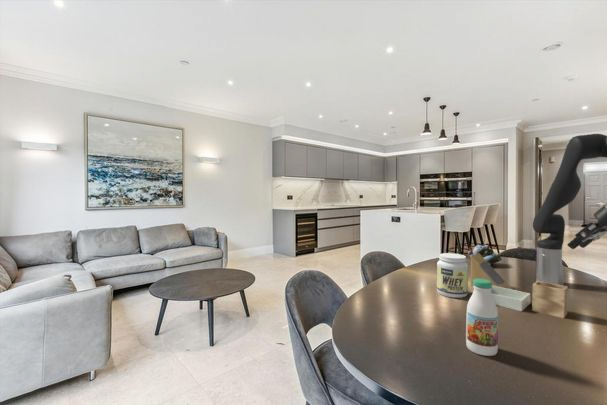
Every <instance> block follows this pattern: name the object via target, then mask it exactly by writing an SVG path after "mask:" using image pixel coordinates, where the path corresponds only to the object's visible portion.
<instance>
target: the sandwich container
mask: <svg viewBox="0 0 607 405" xmlns="http://www.w3.org/2000/svg"><path fill="white" fill-rule="evenodd" d="M474 279H486V280H489V281H491V282H492V285H493V286H497V287H502V288H507V289H512V290H514V289H513V288H512V287H511V286H510V285H509V284H508V283H507V281H505V280H504V279H503V277H502V276H501V275H500V274H499V273H498V272H497V271H496V270H495V269H494V267H492V266H491V265H489V263H488V262H487V261H486V260H485V259H484V258H483V257H482V256H481V255H480V253H478V254H474V255H471V257H470V287H472V288H474V287H473V280H474Z"/></svg>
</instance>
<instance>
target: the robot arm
mask: <svg viewBox="0 0 607 405" xmlns="http://www.w3.org/2000/svg"><path fill="white" fill-rule="evenodd" d="M596 158H607V135H605V134H601V133H591V134H589V133H588V134H581V135H575V136H573V137H571V138H570V140H569V141H568V143H567V144H566V147H565V150H564V153H563V156H562V160H561V162H560V164H559V168H558V170H557V173H556V175H555V177H554V179H553V182H552V184H551V186H550V188H549V190H548V192H547V195H546V196H545V198H544V201H543V203H542V205H541V206H540V207H539V209H538V211H537V213H536V214H535V216H534V218H533V219H532V220H533V221H532V228H533V231H535V233H538V234H549V236H548V237H545V238H543V239H539V240H538V241H537V243H536V271H535V272H536V280H535V282H536V281H540V282H546V283H551V284H556V285H562V286H565V284H564V281H565V278H564V276H565V274H564V273H565V265H564V264H563V245H564V239H565V228H566V223H565V219H564V217H563V215H561V214H558V213H557V214H556V212H558V211H559V210H561V209H563V208H564V207H566V206H567V205H569V204H570V203H572V202H573V201H574V200H575V198H576V197H577V196H578V194H579V192H580V190H581V187H582V182H581V178H580V177H579V174H578V173H577V169H578V166H579V164H580V163H581V161H582V160H588V159H590V160H591V159H596ZM593 217H594V218H595V219H597V221H595V222H589V223H587V225H586V226H584V227H583V228H582V229H580V230H579V231H578V232H577V233H575V235H574V236H575V237H574V238H573V239H572V240H570V241H569V243H566V244H567V247H568V248H570V249H571V250H575V249H576V248H578V247H580V248H581V249H585V248H586V247H587V246H589V245H590V244H591V243H592V242H595V241H597V240H600V239H601V238H602V237H603V236H604V235H605V234H607V202H606V203H605V204H604V205H602V207H600V208H599V209H598V210H597V211H596V212H594V213H593Z"/></svg>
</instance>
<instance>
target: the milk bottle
mask: <svg viewBox="0 0 607 405" xmlns="http://www.w3.org/2000/svg"><path fill="white" fill-rule="evenodd" d="M472 288H473V292H472V293H471V294H472V295H470V298H469V300H468V301H467V306H466V320H465V321H466V324H465V325H466V327H465V330H466V331H465V343H466V348H467V349H468V350H469V351H471V352H473V353H474V354H477V355H481V356H485V357H492V356H496V355H497V353H498V349H499V347H498V346H499V312H498V307H497V305H496V304H495V302H494V300H493V298H492V295H491V290H492V282H491V281H489V280H486V279H474V280H473V287H472Z"/></svg>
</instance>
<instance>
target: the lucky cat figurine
mask: <svg viewBox="0 0 607 405" xmlns="http://www.w3.org/2000/svg"><path fill="white" fill-rule="evenodd" d="M478 253H480V255H481V256H482V257H483V258H484V259H485V260H486V261H487V262H488V263H489V265H490V266H491V265H493V264H496V263H498V262H500V261H502V260H503V259H502V256H500V254H498V253H497V252H494V250H493V249H492V248H491V247H490V245H489V244H487V245H484V244H482V243H479V244H478V245H475V246H474V247H469V248H468V251H467V254H468V255H469V257H470V258H471V255H474V254H478Z"/></svg>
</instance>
